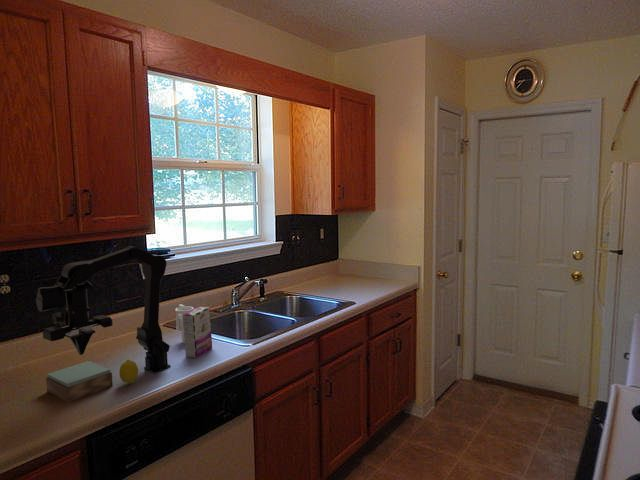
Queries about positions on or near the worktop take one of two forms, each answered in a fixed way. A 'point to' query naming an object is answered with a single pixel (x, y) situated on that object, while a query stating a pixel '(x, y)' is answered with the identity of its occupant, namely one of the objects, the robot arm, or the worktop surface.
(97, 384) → the tray
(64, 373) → the lid
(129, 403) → the worktop surface
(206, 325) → the candy bar box
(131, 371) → the lemon
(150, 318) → the robot arm
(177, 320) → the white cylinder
